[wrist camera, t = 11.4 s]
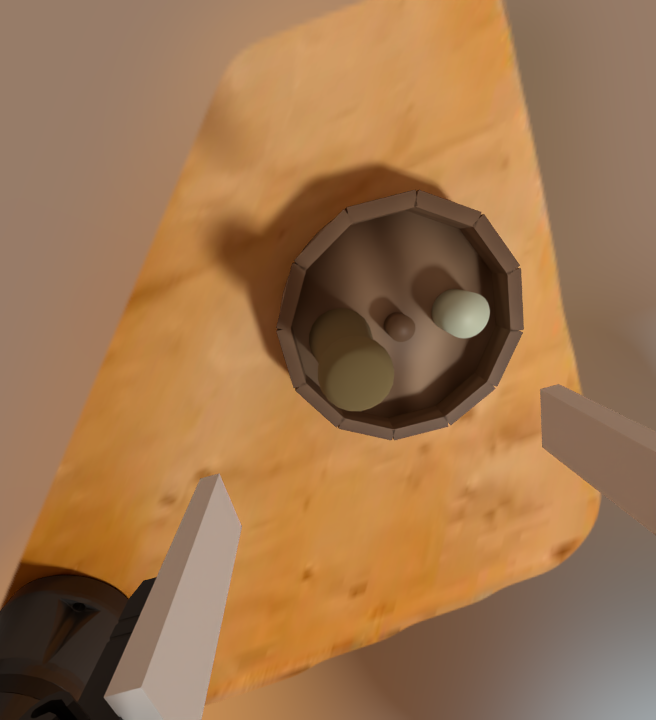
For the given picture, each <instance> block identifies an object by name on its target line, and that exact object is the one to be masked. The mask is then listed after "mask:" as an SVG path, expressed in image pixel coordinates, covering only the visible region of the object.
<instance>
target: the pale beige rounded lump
mask: <svg viewBox="0 0 656 720" xmlns="http://www.w3.org/2000/svg"><path fill="white" fill-rule="evenodd" d="M489 315H490V309H489V305H488V302H487V301H486V299H485V298H484V297H483V296H481V295H479V294H477V293H473V292H468V291H464V290H460V289H450V290H447V291H445V292H443V293H441V294H440V295H439V296H438V297H437V298H436V300H435V302H434V304H433V306H432V319H433V321H434V323H435V324H436V325H437V326H438V327H439V328H440V329H442V330H444V331H446V332H448V333H450V334H452V335H453V336H455V337H458V338H470V337H473V336H475V335H477V334H478V333H480V332H481V331H482V330H483V329H484V327H485V326H486V324H487V322H488V320H489Z"/></svg>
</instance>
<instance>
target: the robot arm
mask: <svg viewBox="0 0 656 720" xmlns="http://www.w3.org/2000/svg"><path fill="white" fill-rule="evenodd" d="M540 395H541V425H542V447H543V448H544V449H545V450H547V451H548V452H549V453H550V454H552V455H553V456H554V457H556V458H557V459H558V460H559V461H561V462H562V463H563V464H565V465H566V466H567V467H568V468H570V469H571V470H572V471H574V472H575V473H576V474H577V475H579V476H580V477H581V478H583V479H584V480H585V481H586V482H588V483H589V484H590V485H592V486H593V487H594V488H595V489H597V490H598V491H599V492H601V493H602V494H603V495H604V496H606V497H607V498H608V499H610V500H611V501H612V502H613V503H615V504H616V505H617V506H619V507H620V508H621V509H622V510H624V511H625V512H626V513H628V514H629V515H630V516H631V517H633V518H634V519H635V520H637V521H638V522H639V523H640V524H642V525H643V526H644V527H646V528H647V529H648V530H649V531H651V532H652V533H653V534H655V535H656V431H654V430H652V429H649V428H648V427H645V426H643V425H641V424H639V423H637V422H635V421H633V420H631V419H629V418H627V417H625V416H622V415H621V414H619V413H617V412H615V411H613V410H610V409H609V408H606V407H604V406H602V405H600V404H598V403H596V402H594V401H592V400H590V399H588V398H586V397H584V396H582V395H580V394H578V393H576V392H574V391H572V390H570V389H568V388H565V387H563V386H561V385H559V384H558V385H554V386H550V387H547V388H543V389H540ZM241 528H242V526H241V524H240V521H239V519H238V517H237V514H236V512H235V509H234V507H233V505H232V502H231V500H230V498H229V495H228V493H227V491H226V488H225V486H224V484H223V481H222V479H221V476H220V474H216V475H212V476H208V477H205V478H201V479H200V481H199V483H198V485H197V487H196V490H195V492H194V494H193V496H192V499H191V501H190V503H189V505H188V508H187V510H186V512H185V515H184V517H183V519H182V521H181V524H180V526H179V528H178V530H177V533H176V535H175V537H174V539H173V542H172V544H171V546H170V548H169V551H168V553H167V555H166V557H165V560H164V562H163V564H162V567H161V569H160V571H159V573H158V576H157V577H156V578H152V579H148V580H145V581H143V582H142V583H141V585H140V586H139V587H138V588H137V590H136V591H135V592H134V593H133V595H132V596H131V597H130V598H129V600H128V599H127V598H126V597H125V596H124V595H123V594H122V593H120V592H119V591H118V590H116V589H115V588H113V587H111V586H109V585H107V584H105V583H103V582H100V581H97V580H94V579H91V578H86V577H81V576H72V575H58V576H50V577H45V578H41V579H38V580H35V581H33V582H30V583H28V584H26V585H25V586H23V587H22V588H20V589H19V590H18V591H17V592H16V593H15V594H14V595H13V597H12V598H11V599H10V600H9V601H8V602H7V604H6V605H5V606H4V607H3V608H2V610H1V611H0V720H201V719H202V714H203V709H204V705H205V700H206V695H207V690H208V685H209V681H210V676H211V671H212V666H213V662H214V657H215V652H216V647H217V643H218V638H219V633H220V628H221V623H222V619H223V614H224V609H225V604H226V600H227V595H228V590H229V585H230V581H231V576H232V571H233V566H234V561H235V557H236V552H237V547H238V542H239V538H240V533H241Z"/></svg>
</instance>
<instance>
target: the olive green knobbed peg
mask: <svg viewBox="0 0 656 720" xmlns="http://www.w3.org/2000/svg"><path fill="white" fill-rule="evenodd" d="M309 345H310V349H311V352H312V354H313V356H314V357H315V359H316V360H317V362H318V364H319V365H318V381H319V385H320V388H321V391H322V392H323V394H324V395H325V396H326V398H327V399H328V400H329V401H330V402H331V403H332V404H334V405H335V406H337V407H338V408H341V409H344V410H347V411H363V410H367V409H370V408H372V407H374V406H376V405H377V404H379V403H381V402H382V400H383V399H384V398H385V397H386V396H387V395H388V394H389V392H390V389H391V387H392V385H393V380H394V368H393V363H392V359H391V357H390V356H389V354H388V352H387V351H386V349H385V348H384V347H383V346H381V345H380V344H379V343H378V342H376V341H375V340H373V337H372V333H371V330H370V327H369V325H368V323H367V322H366V320H365V319H364V318H363V317H362V316H361V315H360V314H359V313H357V312H355V311H353V310H350V309H345V308H336V309H333V310H329V311H327V312H325V313H324V314H322V315H321V316H319V317H318V318H317V320H316V321H315V322H314V323H313V325H312V328H311V330H310V333H309Z"/></svg>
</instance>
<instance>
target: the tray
mask: <svg viewBox="0 0 656 720" xmlns="http://www.w3.org/2000/svg"><path fill="white" fill-rule="evenodd" d="M294 261H295V263H292V267H291V271H290V275H289V277H288V280H287V283H286V286H285V289H284V292H283V297H282V303H281V309H280V315H279V319H278V323H277V327H276V328H277V331H276V332H277V335H278V338H279V341H280V345H281V348H282V351H283V355H284V358H285V361H286V364H287V368H288V371H289V374H290V378H291V381H292V384H293V388H295V391H296V392H297V393H299V394H300V395H301V396H302V397H303V398H304V399H305V400H306V401H307V402H309V403H310V404H311V405H312V406H313V407H314V408H315V409H316V410H317V411H319V412H320V413H321V414H322V415H323V416H324V417H325V418H326V419H327V420H329V421H330V422H331V423H332V424H333V425H334V426H335V427H337V426H338V428H339V429H343V430H347V431H352V432H356V433H361V434H365V435H370V436H374V437H379V438H383V439H388V440H392V438H393V439H394V440H398V439H401V438H405V437H409V436H413V435H417V434H421V433H425V432H429V431H433V430H437V429H441V428H445V427H448V423H449V424H450V425H452V424H453V423H454V422H455V421H457V420H458V419H459V418H460V417H461V416H463V415H464V414H465V413H466V412H468V411H469V410H470V409H471V408H472V407H474V406H475V405H476V404H477V403H479V402H480V401H481V400H482V399H483V398H485V397H486V396H487V395H488V394H490V393H491V392H492V391H493V390H494V389H495V387H494V386H498V384H499V382H500V380H501V378H502V375H503V373H504V371H505V369H506V367H507V365H508V363H509V361H510V359H511V356H512V354H513V352H514V350H515V348H516V346H517V344H518V342H519V340H520V338H521V335H522V333H523V332H521V331H519V330H523V329H524V326H523V303H522V281H521V268H518V267H519V266H520V265H519V263H518V262H517V261H516V259H515V258H514V256H513V255H512V253H511V252H510V251H509V249H508V248H507V246H506V245H505V243H504V242H503V241H502V239H501V238H500V236H499V235H498V233H497V232H496V231H495V229H494V228H493V226H492V225H491V223H490V222H489V221H488V219H487V218H486V216H485V215H484V214H482V215H481V212H480V211H477V210H474V209H471V208H469V207H466V206H463V205H460V204H457V203H455V202H452V201H449V200H446V199H443V198H441V197H438V196H435V195H432V194H429V193H427V192H424V191H421V190H418V191H416V190H412V191H408V192H404V193H400V194H397V195H393V196H389V197H385V198H381V199H377V200H373V201H369V202H366V203H362V204H358V205H354V206H350V207H347V208H346V209H345V210H344V209H343V210H342V212H341V213H340V214H339V215H338V216H337V217H336V218H335V219H334V220H333V221H331V222H330V223H328V224H327V225H326V226H325V227H324V228H323V229H322V230H320V231H319V232H318V233H317V234H316V235H315V236H314V237H313V239H312V240H311V241H310V242H309V243H308V244H307V246H306V247H305V248H304V249H303V251H302V253H301V254H300V255H299V256H298V257H297V258H296V259H295V260H294ZM450 289H460V290H464V291H468V292H473V293H477V294H479V295H481V296H483V297H484V298H485V299H486V301H487V302H488V305H489V309H490V315H489V320H488V322H487V324H486V326H485V327H484V329H483V330H482V331H481V332H480V333H478V334H477V335H475V336H473V337H470V338H458V337H455V336H453V335H452V334H450V333H448V332H446V331H444V330H442V329H440V328H439V327H438V326H437V325H436V324H435V323H434V321H433V319H432V306H433V304H434V302H435V300H436V298H437V297H438V296H439V295H440V294H441V293H443V292H445V291H447V290H450ZM336 308H345V309H350V310H353V311H355V312H357V313H359V314H360V315H361V316H362V317H363V318H364V319H365V320H366V322H367V323H368V325H369V327H370V330H371V333H372V337H373V340H375V341H376V342H378V343H379V344H380V345H381V346H383V347H384V348H385V349H386V351H387V352H388V354H389V356H390V357H391V359H392V363H393V368H394V380H393V385H392V387H391V389H390V392H389V394H388V395H387V396H386V397H385V398H384V399H383V400H382V402H381V403H379V404H377V405H376V406H374V407H372V408H370V409H367V410H363V411H347V410H344V409H341V408H338V407H337V406H335V405H334V404H332V403H331V402H330V401H329V400H328V399H327V398H326V396H325V395H324V394H323V392H322V391H321V388H320V385H319V381H318V365H319V364H318V362H317V360H316V359H315V357H314V356H313V354H312V352H311V349H310V345H309V333H310V330H311V328H312V325H313V323H314V322H315V321H316V320H317V318H318V317H319V316H321V315H322V314H324V313H325V312H327V311H329V310H333V309H336ZM493 385H494V386H493Z"/></svg>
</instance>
